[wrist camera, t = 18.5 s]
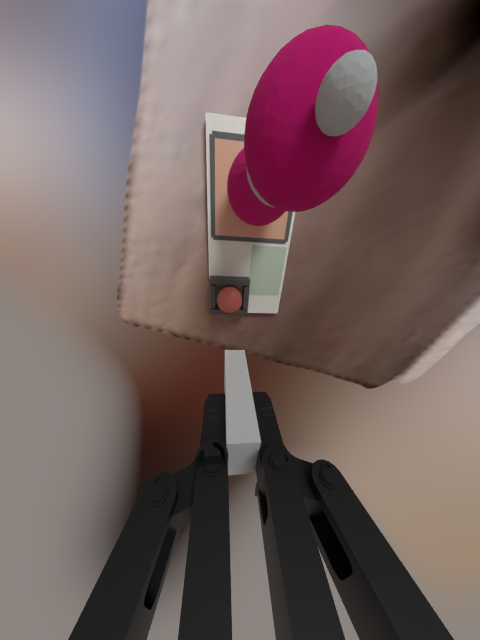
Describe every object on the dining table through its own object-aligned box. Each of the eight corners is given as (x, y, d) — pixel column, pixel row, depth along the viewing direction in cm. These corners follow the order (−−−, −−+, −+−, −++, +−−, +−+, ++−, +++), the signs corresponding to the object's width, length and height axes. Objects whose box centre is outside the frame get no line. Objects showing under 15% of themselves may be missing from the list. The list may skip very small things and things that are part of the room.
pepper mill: (240, 235, 25) (284, 254, 7) (216, 177, 22) (184, -57, 4) (288, 211, 24) (472, 161, 6) (270, 145, 21) (550, -347, 3)
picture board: (306, 130, 21) (319, 115, 18) (276, 311, 32) (281, 318, 29) (206, 117, 20) (203, 99, 17) (210, 309, 31) (208, 317, 28)
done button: (241, 285, 27) (242, 290, 25) (239, 306, 28) (241, 313, 26) (217, 284, 26) (217, 289, 24) (217, 306, 28) (217, 312, 26)
